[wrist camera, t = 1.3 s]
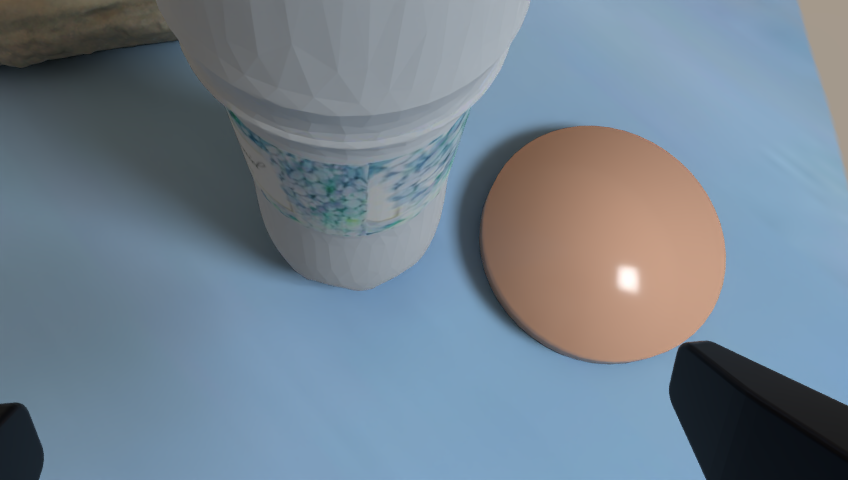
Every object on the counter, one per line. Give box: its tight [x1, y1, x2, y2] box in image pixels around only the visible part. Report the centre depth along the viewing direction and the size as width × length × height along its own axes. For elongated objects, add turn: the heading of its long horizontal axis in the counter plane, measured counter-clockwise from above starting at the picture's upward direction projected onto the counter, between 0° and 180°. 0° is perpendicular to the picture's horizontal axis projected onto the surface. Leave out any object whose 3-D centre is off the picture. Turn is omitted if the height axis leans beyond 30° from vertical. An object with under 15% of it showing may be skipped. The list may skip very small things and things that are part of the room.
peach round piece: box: [479, 126, 726, 364], centre depth 24 cm, size 10×10×1 cm
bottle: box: [156, 0, 530, 291], centre depth 14 cm, size 7×7×20 cm
